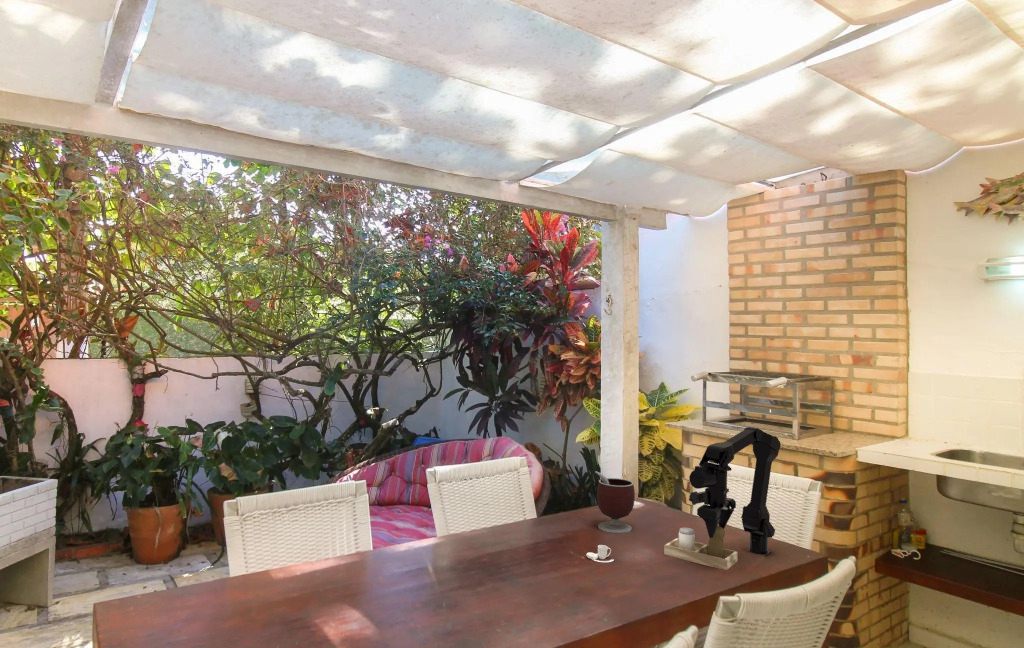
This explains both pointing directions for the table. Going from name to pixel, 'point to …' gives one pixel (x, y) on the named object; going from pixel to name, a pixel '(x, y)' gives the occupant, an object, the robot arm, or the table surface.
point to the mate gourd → (615, 502)
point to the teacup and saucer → (600, 554)
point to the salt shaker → (686, 539)
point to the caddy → (701, 555)
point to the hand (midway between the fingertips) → (716, 534)
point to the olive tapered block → (717, 544)
